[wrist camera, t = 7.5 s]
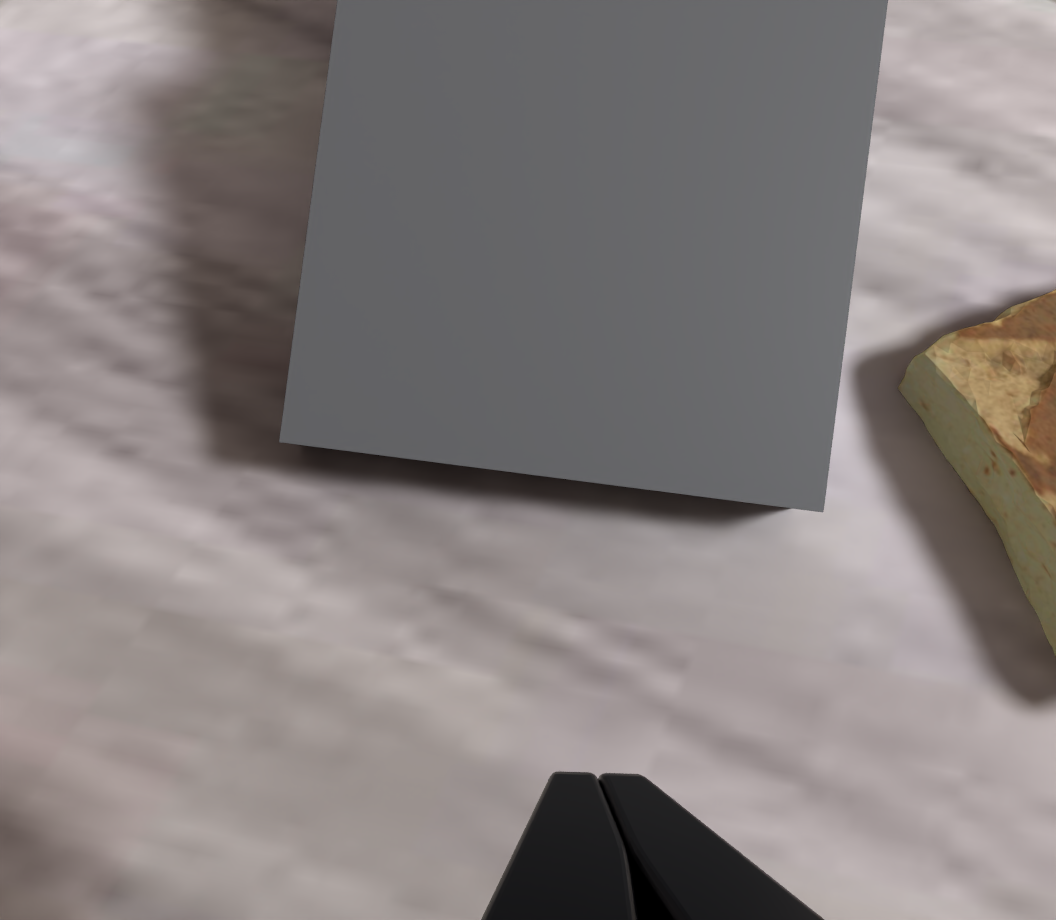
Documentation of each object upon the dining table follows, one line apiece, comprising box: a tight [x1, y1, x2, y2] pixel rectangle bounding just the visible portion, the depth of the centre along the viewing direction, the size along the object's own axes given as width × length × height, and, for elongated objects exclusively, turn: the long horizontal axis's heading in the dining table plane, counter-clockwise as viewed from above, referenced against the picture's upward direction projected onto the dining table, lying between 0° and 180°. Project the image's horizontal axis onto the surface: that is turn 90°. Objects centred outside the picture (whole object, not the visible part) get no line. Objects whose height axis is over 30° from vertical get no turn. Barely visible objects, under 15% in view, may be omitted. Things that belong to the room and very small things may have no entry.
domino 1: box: [279, 0, 888, 512], centre depth 16 cm, size 2×10×10 cm
